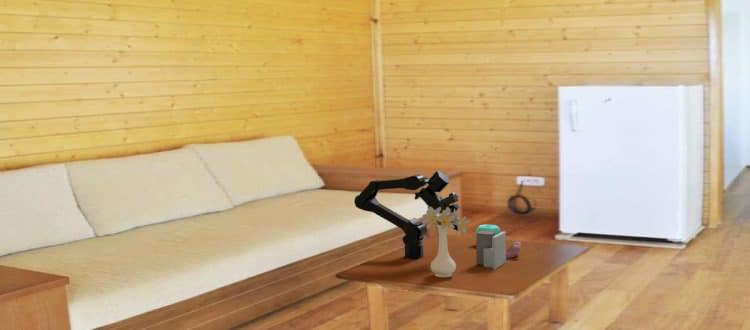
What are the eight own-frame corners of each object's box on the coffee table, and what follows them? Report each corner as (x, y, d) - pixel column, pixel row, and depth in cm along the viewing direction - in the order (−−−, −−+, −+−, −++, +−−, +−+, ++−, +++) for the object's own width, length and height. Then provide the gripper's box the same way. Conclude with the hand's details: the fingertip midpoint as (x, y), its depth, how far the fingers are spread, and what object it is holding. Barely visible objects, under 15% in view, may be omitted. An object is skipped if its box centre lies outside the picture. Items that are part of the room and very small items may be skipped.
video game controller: (515, 262, 337) (523, 247, 336) (504, 257, 338) (512, 242, 337) (515, 257, 347) (523, 242, 346) (505, 252, 347) (513, 237, 346)
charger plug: (476, 264, 328) (476, 233, 327) (480, 261, 333) (480, 230, 331) (495, 265, 325) (494, 234, 323) (499, 263, 329) (499, 232, 328)
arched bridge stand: (482, 267, 323) (482, 236, 322) (492, 261, 334) (492, 230, 333) (495, 268, 321) (495, 237, 320) (505, 262, 332) (505, 231, 330)
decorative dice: (475, 244, 365) (474, 226, 364) (487, 242, 370) (487, 223, 369) (489, 247, 359) (489, 228, 358) (501, 244, 364) (501, 226, 363)
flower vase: (461, 282, 302) (460, 212, 299) (414, 276, 312) (413, 208, 309) (476, 274, 313) (475, 206, 311) (430, 269, 323) (430, 203, 320)
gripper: (436, 189, 325) (463, 220, 321) (454, 183, 342) (481, 212, 338) (417, 209, 330) (444, 239, 326) (436, 201, 346) (462, 230, 342)
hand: (458, 229), depth 333 cm, fingers closed
